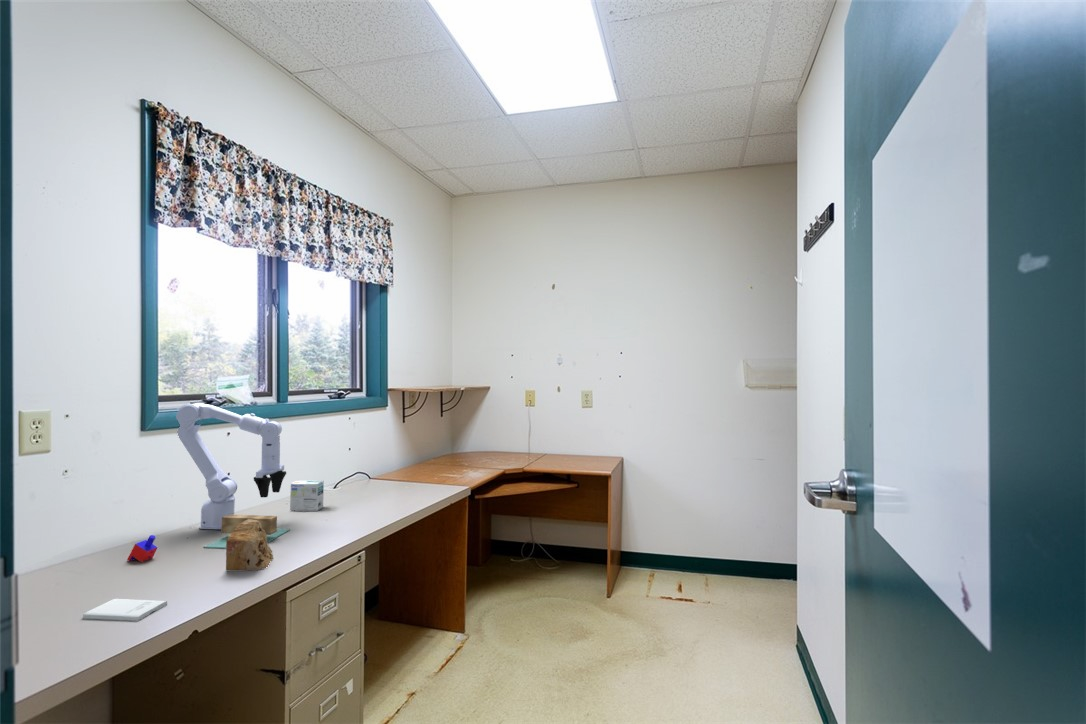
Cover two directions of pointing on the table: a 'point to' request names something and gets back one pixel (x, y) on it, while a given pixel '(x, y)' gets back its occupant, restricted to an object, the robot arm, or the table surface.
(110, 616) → the external hard drive
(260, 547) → the stone fragment
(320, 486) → the light bulb box
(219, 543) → the board
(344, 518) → the table surface
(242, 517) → the bronze bar
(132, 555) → the red blue dreidel
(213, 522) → the robot arm
